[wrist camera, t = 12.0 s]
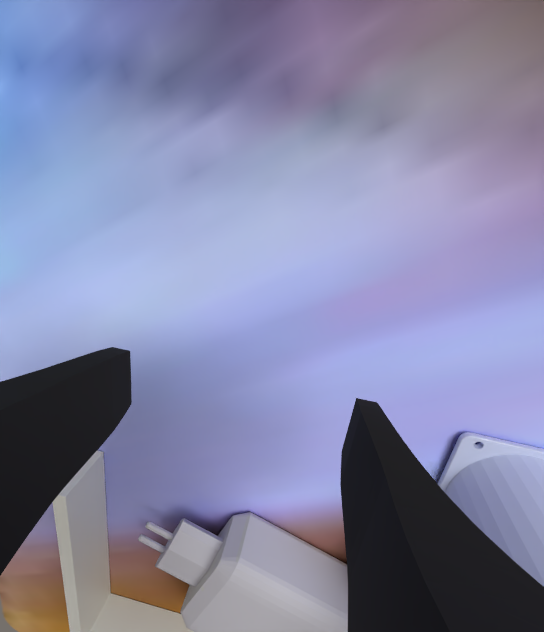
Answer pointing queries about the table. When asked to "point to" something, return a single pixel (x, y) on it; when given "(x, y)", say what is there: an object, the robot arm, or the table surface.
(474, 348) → the table surface
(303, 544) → the charger
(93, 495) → the box
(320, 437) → the table surface
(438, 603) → the robot arm
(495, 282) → the table surface
